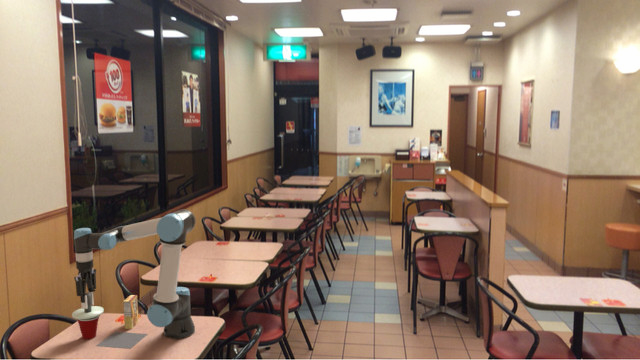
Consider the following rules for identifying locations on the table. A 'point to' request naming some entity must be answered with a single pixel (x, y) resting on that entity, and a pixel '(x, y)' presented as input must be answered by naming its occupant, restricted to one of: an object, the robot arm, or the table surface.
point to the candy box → (130, 311)
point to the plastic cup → (88, 327)
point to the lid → (88, 310)
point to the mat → (122, 340)
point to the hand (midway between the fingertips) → (87, 306)
